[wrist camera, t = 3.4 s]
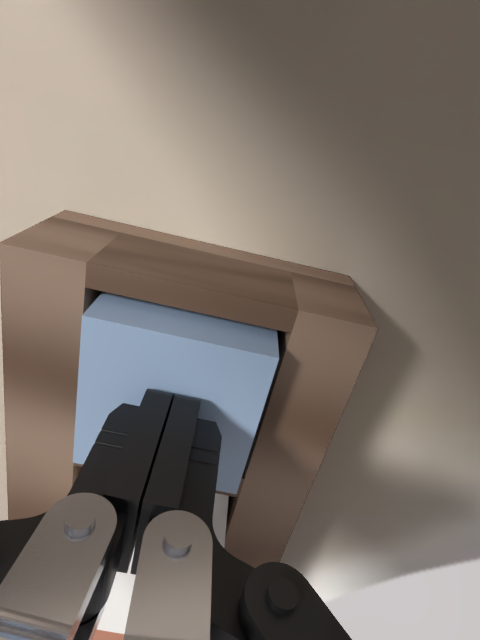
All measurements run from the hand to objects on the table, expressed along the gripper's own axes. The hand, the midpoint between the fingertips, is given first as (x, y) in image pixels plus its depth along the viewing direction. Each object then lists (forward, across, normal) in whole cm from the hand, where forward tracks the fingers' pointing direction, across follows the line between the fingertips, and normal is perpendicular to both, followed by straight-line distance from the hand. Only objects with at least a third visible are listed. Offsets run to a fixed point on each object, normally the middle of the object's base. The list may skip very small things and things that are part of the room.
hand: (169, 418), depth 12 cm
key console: (+5, 0, +6) cm, 8 cm away
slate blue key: (+3, 0, 0) cm, 3 cm away
